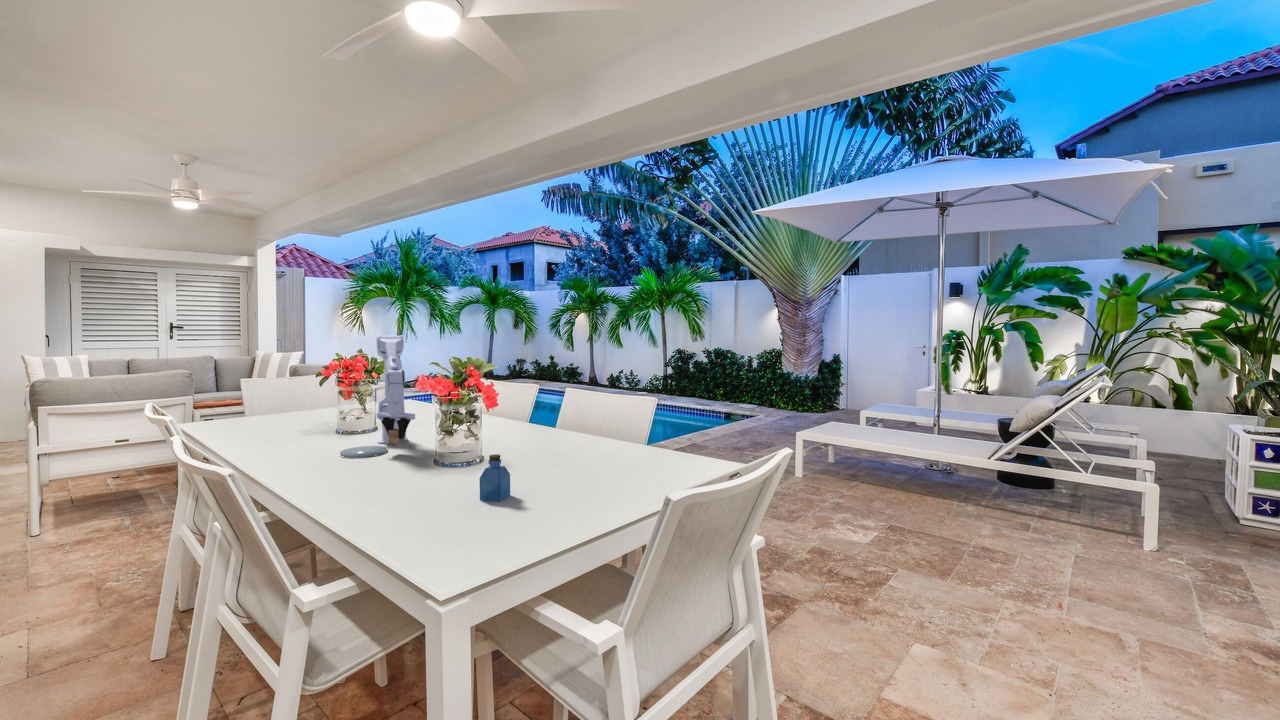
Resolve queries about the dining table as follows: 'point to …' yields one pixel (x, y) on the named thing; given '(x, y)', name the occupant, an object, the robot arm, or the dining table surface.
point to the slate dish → (363, 451)
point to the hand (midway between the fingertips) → (396, 438)
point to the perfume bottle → (495, 481)
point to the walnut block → (394, 436)
